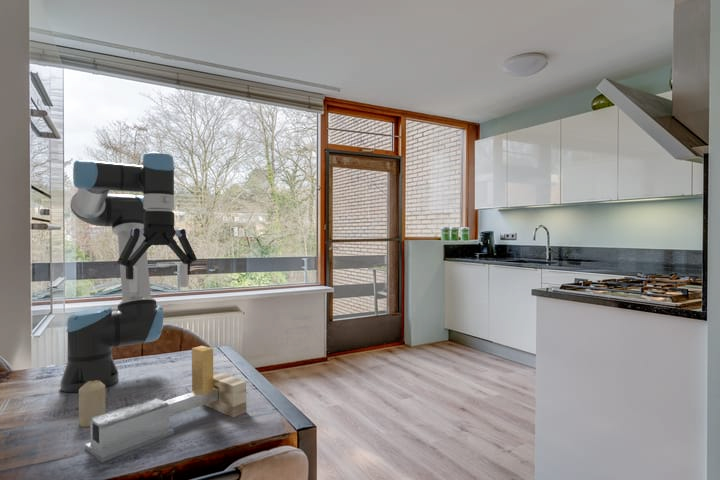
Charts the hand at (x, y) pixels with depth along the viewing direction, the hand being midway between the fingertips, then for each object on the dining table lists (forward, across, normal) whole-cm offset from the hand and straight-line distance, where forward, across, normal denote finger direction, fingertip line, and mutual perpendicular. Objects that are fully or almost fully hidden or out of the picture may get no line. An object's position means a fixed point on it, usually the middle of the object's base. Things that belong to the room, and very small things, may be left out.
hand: (159, 289), depth 110 cm
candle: (+32, -15, +4) cm, 36 cm away
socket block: (+32, +9, -14) cm, 36 cm away
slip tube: (+29, -1, -14) cm, 32 cm away
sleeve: (+32, -14, -14) cm, 37 cm away
